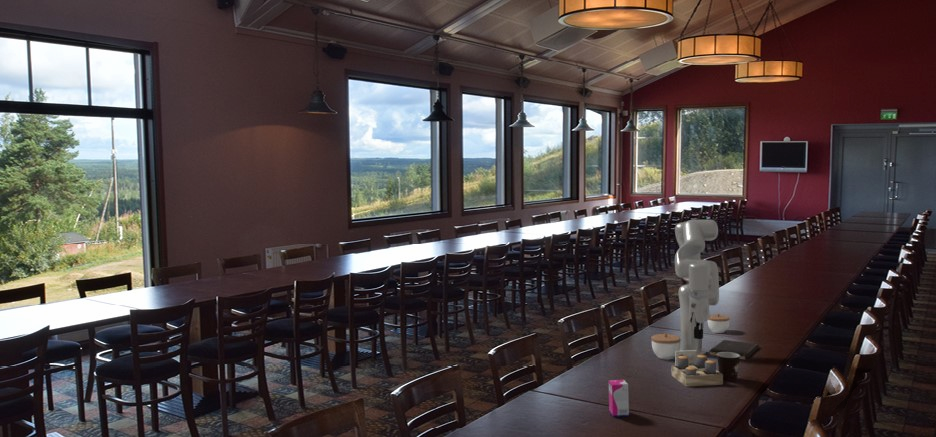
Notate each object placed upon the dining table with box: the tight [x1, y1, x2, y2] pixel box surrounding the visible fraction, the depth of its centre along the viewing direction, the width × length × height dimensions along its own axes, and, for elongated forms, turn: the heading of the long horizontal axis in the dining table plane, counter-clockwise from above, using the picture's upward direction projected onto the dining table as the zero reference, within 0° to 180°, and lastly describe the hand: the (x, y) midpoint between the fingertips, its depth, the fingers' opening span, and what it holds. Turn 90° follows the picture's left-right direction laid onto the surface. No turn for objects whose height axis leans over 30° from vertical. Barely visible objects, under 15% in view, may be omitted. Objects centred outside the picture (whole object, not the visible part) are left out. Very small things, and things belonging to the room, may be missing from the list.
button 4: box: [705, 359, 717, 375], centre depth 274 cm, size 4×4×5 cm
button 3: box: [696, 354, 708, 369], centre depth 282 cm, size 4×4×5 cm
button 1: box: [677, 356, 688, 370], centre depth 281 cm, size 4×4×5 cm
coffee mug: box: [716, 352, 741, 383], centre depth 278 cm, size 12×9×10 cm
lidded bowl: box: [650, 332, 681, 360], centre depth 311 cm, size 13×13×11 cm
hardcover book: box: [708, 339, 760, 361], centre depth 318 cm, size 16×23×2 cm
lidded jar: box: [707, 313, 730, 334], centre depth 354 cm, size 11×11×9 cm
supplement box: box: [608, 379, 630, 418], centre depth 242 cm, size 6×6×12 cm
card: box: [674, 350, 697, 365], centre depth 288 cm, size 1×9×9 cm, turn 95°
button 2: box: [685, 367, 696, 376], centre depth 274 cm, size 4×4×5 cm
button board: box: [670, 364, 724, 387], centre depth 278 cm, size 15×15×4 cm
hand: (698, 338), depth 279 cm, fingers closed
